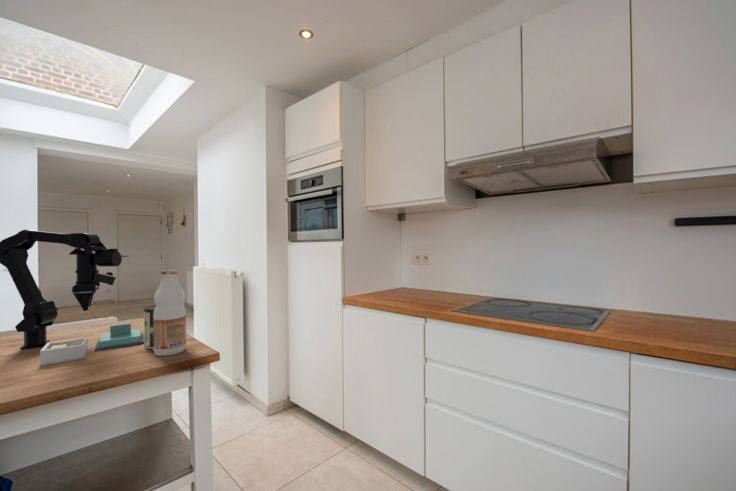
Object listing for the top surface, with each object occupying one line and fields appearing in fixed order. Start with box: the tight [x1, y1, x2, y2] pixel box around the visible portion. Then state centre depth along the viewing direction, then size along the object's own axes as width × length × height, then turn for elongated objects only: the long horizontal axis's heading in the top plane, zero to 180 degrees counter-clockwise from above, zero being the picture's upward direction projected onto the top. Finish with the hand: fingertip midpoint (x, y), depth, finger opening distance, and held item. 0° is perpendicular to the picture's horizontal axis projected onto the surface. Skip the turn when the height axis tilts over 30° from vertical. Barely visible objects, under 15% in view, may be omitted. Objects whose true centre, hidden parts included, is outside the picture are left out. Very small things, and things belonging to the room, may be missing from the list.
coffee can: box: [143, 304, 156, 350], centre depth 116 cm, size 10×10×14 cm
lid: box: [98, 322, 141, 348], centre depth 119 cm, size 12×12×6 cm
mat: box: [94, 332, 144, 352], centre depth 119 cm, size 14×14×1 cm
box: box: [39, 337, 89, 366], centre depth 103 cm, size 10×10×4 cm
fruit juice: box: [153, 269, 187, 357], centre depth 108 cm, size 9×9×28 cm
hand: (87, 308), depth 117 cm, fingers open, 9 cm apart
